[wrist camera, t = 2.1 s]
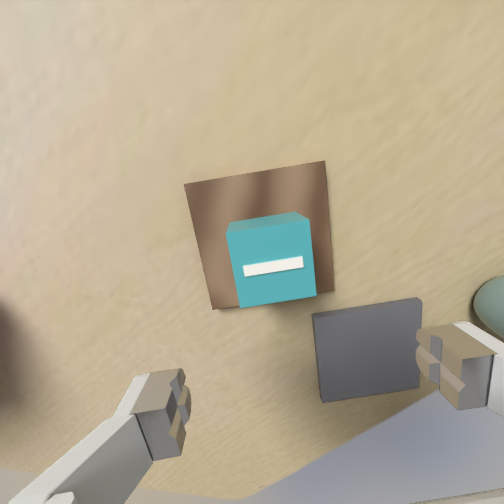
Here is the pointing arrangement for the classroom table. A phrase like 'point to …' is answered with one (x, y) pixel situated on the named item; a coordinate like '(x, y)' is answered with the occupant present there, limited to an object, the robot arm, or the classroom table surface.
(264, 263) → the teal cube
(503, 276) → the cup
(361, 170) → the classroom table surface
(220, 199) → the post base
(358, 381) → the mat
